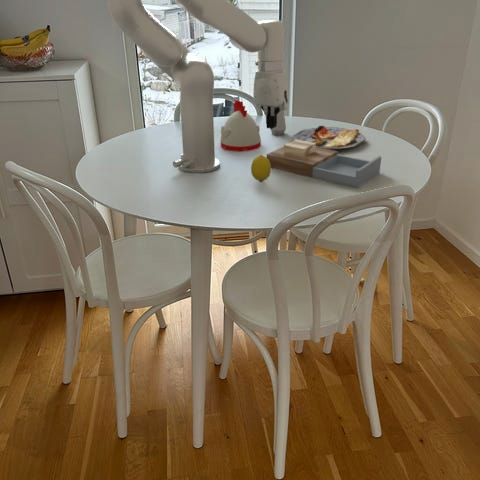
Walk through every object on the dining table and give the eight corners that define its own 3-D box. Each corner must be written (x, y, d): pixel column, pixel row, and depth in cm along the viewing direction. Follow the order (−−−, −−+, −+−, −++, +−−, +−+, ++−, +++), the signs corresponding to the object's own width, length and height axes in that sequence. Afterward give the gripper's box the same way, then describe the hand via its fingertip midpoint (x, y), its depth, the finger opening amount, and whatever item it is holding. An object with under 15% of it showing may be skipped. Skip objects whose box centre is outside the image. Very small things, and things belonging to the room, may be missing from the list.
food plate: (315, 128, 189) (316, 119, 188) (374, 139, 178) (375, 129, 176) (282, 146, 172) (282, 136, 170) (344, 159, 160) (345, 148, 158)
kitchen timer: (248, 137, 180) (248, 95, 173) (268, 147, 170) (268, 102, 163) (213, 143, 175) (212, 99, 168) (231, 153, 164) (231, 107, 157)
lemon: (264, 187, 137) (265, 159, 133) (247, 183, 140) (247, 156, 136) (274, 181, 141) (274, 153, 138) (257, 177, 144) (257, 150, 140)
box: (357, 188, 136) (359, 171, 133) (312, 177, 143) (313, 161, 141) (379, 172, 146) (381, 156, 144) (336, 163, 154) (337, 148, 151)
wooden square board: (312, 177, 143) (313, 164, 141) (266, 166, 152) (266, 154, 150) (336, 163, 154) (337, 151, 152) (292, 154, 162) (292, 142, 160)
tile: (303, 157, 147) (303, 149, 146) (283, 152, 151) (283, 144, 150) (315, 151, 152) (315, 143, 151) (295, 147, 156) (295, 139, 155)
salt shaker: (268, 135, 182) (269, 99, 176) (272, 131, 187) (272, 96, 181) (284, 136, 181) (285, 100, 175) (287, 132, 185) (288, 96, 179)
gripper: (242, 66, 148) (245, 127, 157) (285, 70, 140) (285, 134, 148) (257, 62, 153) (258, 121, 162) (299, 65, 145) (298, 127, 154)
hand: (271, 127), depth 155 cm, fingers closed
